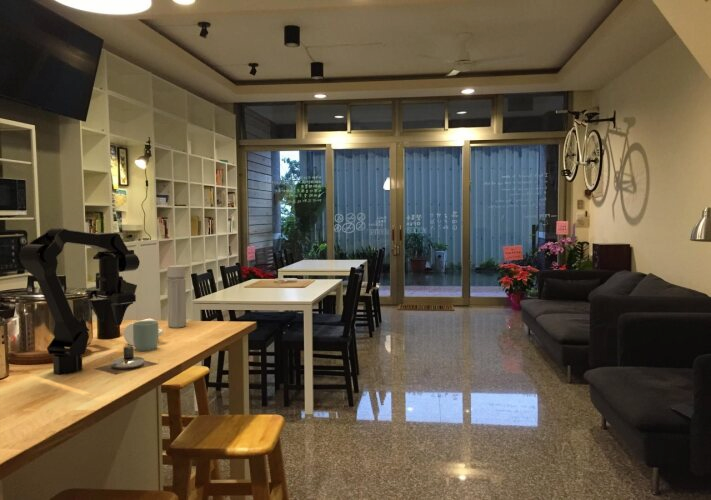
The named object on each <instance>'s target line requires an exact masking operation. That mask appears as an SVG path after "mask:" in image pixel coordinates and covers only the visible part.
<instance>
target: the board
mask: <svg viewBox="0 0 711 500" xmlns="http://www.w3.org/2000/svg"><path fill="white" fill-rule="evenodd" d="M156 365H159V363H158V362H152V361H149V360H145V359H144V364H143V365H141V366H139V367H134V368H127V369H117V368H112V367H111V364H106V365H103V366H98V367H94V368H93V370H97V371H101V372H105V373H109V374H111V375H120V374H123V373H127V372H132V371H135V370H136V371H137V370H140V369H144V368H149V367H151V366H152V367H153V366H156Z"/></svg>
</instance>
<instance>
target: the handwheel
mask: <svg viewBox="0 0 711 500" xmlns="http://www.w3.org/2000/svg"><path fill="white" fill-rule="evenodd" d="M122 350H123V357H119V358H115V359H112V360H111V361H110V365H111V367H112V368H117V369H127V368H134V367H139V366H141V365H143V364H144V360H145V358H143V357H140V356H134V355H135V354H134V350H135V347H134V346H133V345H131V346H124V347H123V349H122Z"/></svg>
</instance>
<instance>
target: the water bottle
mask: <svg viewBox="0 0 711 500" xmlns="http://www.w3.org/2000/svg"><path fill="white" fill-rule="evenodd" d="M166 268H167V270H166V278H165V279H166V281H167V285H166V288H167V294H166V295H167V296H166V297H167V327H169V328H171V329H181V328H184V327H186V326H187V300H186V299H187V297H186V296H187V294H186V291H187V290H186V288H187V287H186V282H187V281H186V279H187V276H186V272H185V271H186V270H185V266H184V265H168V266H167V267H166Z"/></svg>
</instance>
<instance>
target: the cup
mask: <svg viewBox="0 0 711 500" xmlns="http://www.w3.org/2000/svg"><path fill="white" fill-rule="evenodd" d="M132 323H133V342H134V346H133V347H134V350H135V351H138V352H149V351H155V350H156V349H157V348H158V345H159V336H158V325H159V322H158V321H157V320H155V321H141V320H138V321H134V322H132Z"/></svg>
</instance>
